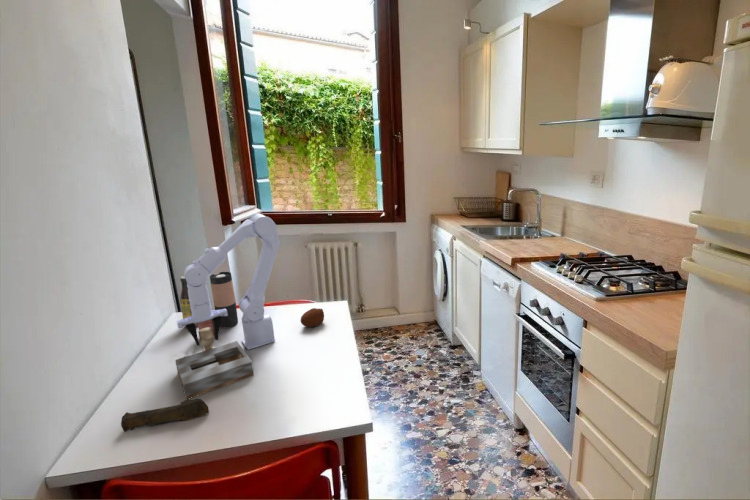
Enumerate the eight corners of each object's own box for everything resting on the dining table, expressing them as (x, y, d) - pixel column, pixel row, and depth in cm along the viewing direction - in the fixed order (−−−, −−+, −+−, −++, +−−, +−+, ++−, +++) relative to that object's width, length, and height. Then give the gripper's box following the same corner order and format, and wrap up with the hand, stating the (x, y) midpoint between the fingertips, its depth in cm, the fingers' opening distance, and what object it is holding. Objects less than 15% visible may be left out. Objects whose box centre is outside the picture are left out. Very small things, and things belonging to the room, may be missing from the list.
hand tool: (121, 435, 89) (117, 418, 88) (129, 423, 93) (125, 407, 92) (206, 421, 92) (203, 405, 91) (210, 411, 96) (207, 395, 95)
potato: (328, 325, 140) (327, 309, 138) (304, 332, 136) (302, 315, 134) (321, 319, 146) (320, 303, 144) (298, 325, 142) (296, 309, 140)
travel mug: (234, 328, 142) (226, 277, 137) (214, 329, 142) (205, 278, 137) (241, 319, 149) (234, 271, 144) (222, 320, 150) (214, 272, 145)
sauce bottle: (180, 328, 144) (171, 279, 139) (192, 321, 150) (183, 273, 145) (195, 329, 143) (186, 279, 138) (206, 322, 149) (197, 274, 144)
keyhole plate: (238, 353, 123) (236, 340, 122) (253, 375, 110) (251, 361, 109) (177, 373, 114) (175, 359, 112) (186, 399, 101) (183, 384, 100)
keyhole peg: (216, 350, 126) (211, 325, 124) (219, 356, 122) (215, 330, 120) (199, 355, 124) (195, 329, 121) (203, 361, 120) (198, 335, 117)
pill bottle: (220, 336, 136) (215, 308, 133) (202, 342, 133) (196, 312, 130) (216, 330, 141) (212, 302, 138) (199, 335, 138) (193, 307, 135)
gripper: (221, 293, 125) (227, 330, 129) (172, 304, 118) (180, 344, 121) (226, 299, 120) (232, 338, 123) (175, 311, 112) (184, 352, 115)
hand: (207, 341), depth 122 cm, fingers open, 5 cm apart
